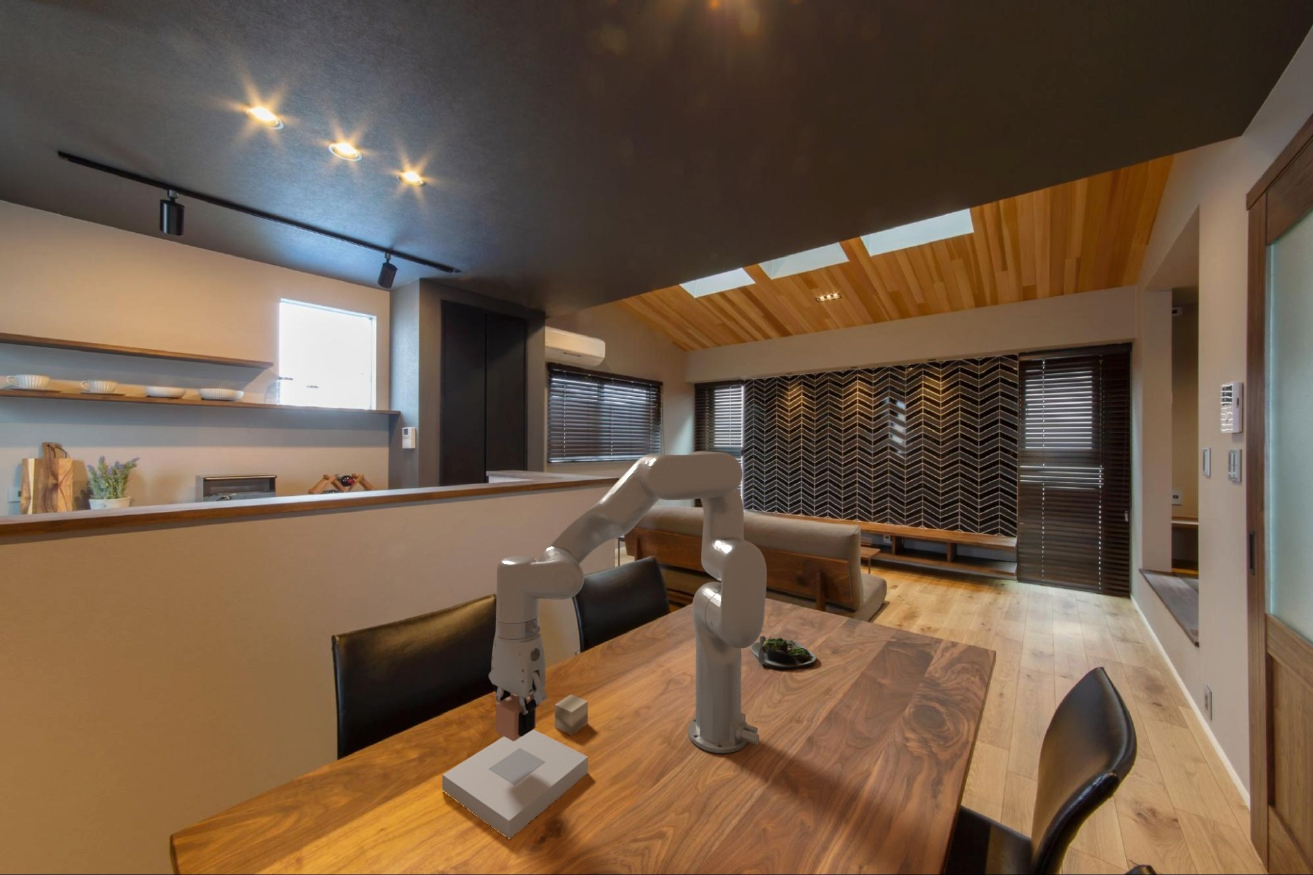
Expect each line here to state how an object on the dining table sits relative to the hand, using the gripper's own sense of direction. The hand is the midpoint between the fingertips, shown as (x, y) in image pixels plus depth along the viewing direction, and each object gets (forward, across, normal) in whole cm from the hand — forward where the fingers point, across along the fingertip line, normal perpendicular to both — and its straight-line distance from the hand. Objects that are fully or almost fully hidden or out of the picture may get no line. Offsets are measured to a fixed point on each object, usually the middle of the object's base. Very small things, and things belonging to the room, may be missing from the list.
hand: (516, 725), depth 86 cm
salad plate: (+10, -23, -76) cm, 80 cm away
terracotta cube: (+1, 0, 0) cm, 1 cm away
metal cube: (+10, +4, -18) cm, 21 cm away
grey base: (+10, 0, 0) cm, 10 cm away
